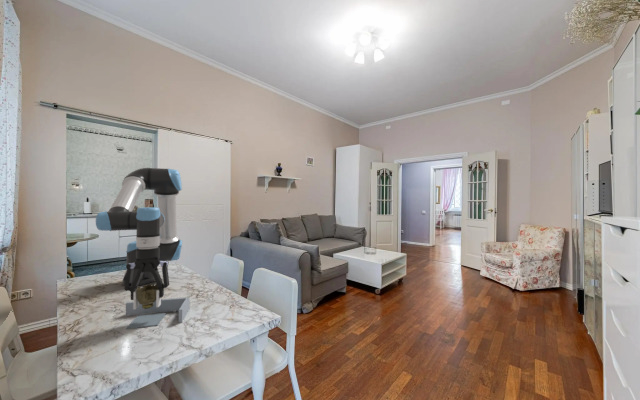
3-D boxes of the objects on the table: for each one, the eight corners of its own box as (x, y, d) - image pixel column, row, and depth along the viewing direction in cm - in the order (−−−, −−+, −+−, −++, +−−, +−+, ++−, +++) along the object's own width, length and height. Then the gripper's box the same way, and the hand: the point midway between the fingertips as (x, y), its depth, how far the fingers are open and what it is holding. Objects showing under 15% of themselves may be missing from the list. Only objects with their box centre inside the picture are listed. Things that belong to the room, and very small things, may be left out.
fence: (127, 314, 102) (127, 302, 102) (189, 308, 108) (190, 296, 108) (110, 330, 90) (110, 316, 90) (182, 322, 96) (182, 309, 96)
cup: (144, 313, 92) (144, 291, 92) (131, 309, 94) (131, 288, 94) (163, 305, 99) (163, 284, 99) (150, 302, 101) (150, 282, 101)
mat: (138, 316, 100) (138, 315, 100) (166, 313, 103) (166, 312, 103) (126, 329, 91) (126, 327, 91) (157, 325, 93) (157, 324, 93)
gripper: (112, 250, 90) (111, 313, 90) (174, 248, 96) (173, 308, 96) (122, 246, 98) (122, 305, 98) (179, 244, 103) (178, 300, 103)
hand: (147, 306), depth 97 cm, fingers closed on cup, 7 cm apart
